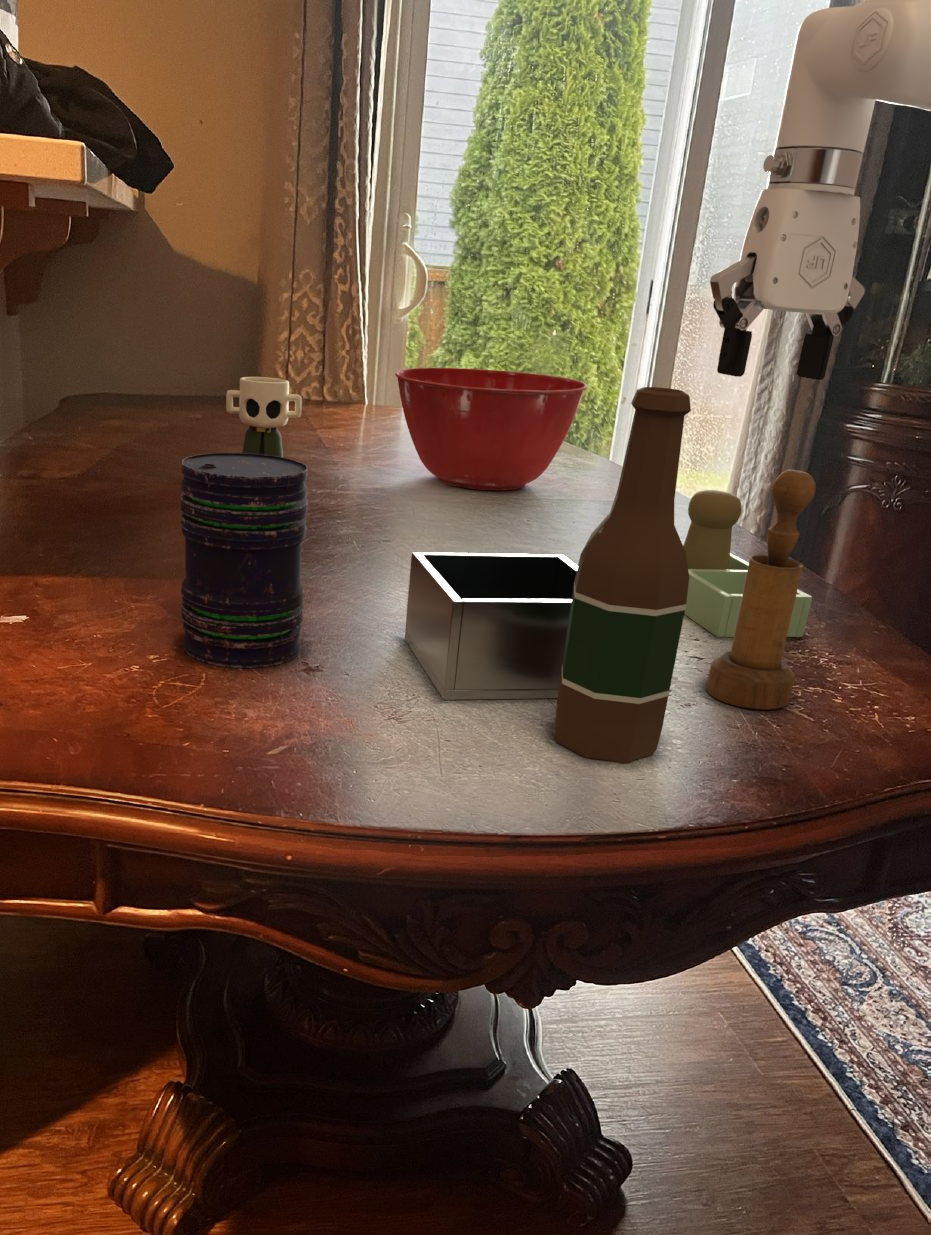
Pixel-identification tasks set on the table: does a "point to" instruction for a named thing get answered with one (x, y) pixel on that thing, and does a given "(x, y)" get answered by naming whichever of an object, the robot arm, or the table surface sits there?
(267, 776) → the table surface
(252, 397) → the character mug
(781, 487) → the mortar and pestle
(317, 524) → the table surface
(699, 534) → the cork
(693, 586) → the divided storage box
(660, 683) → the beer bottle
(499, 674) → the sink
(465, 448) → the mixing bowl
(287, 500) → the oil drum
